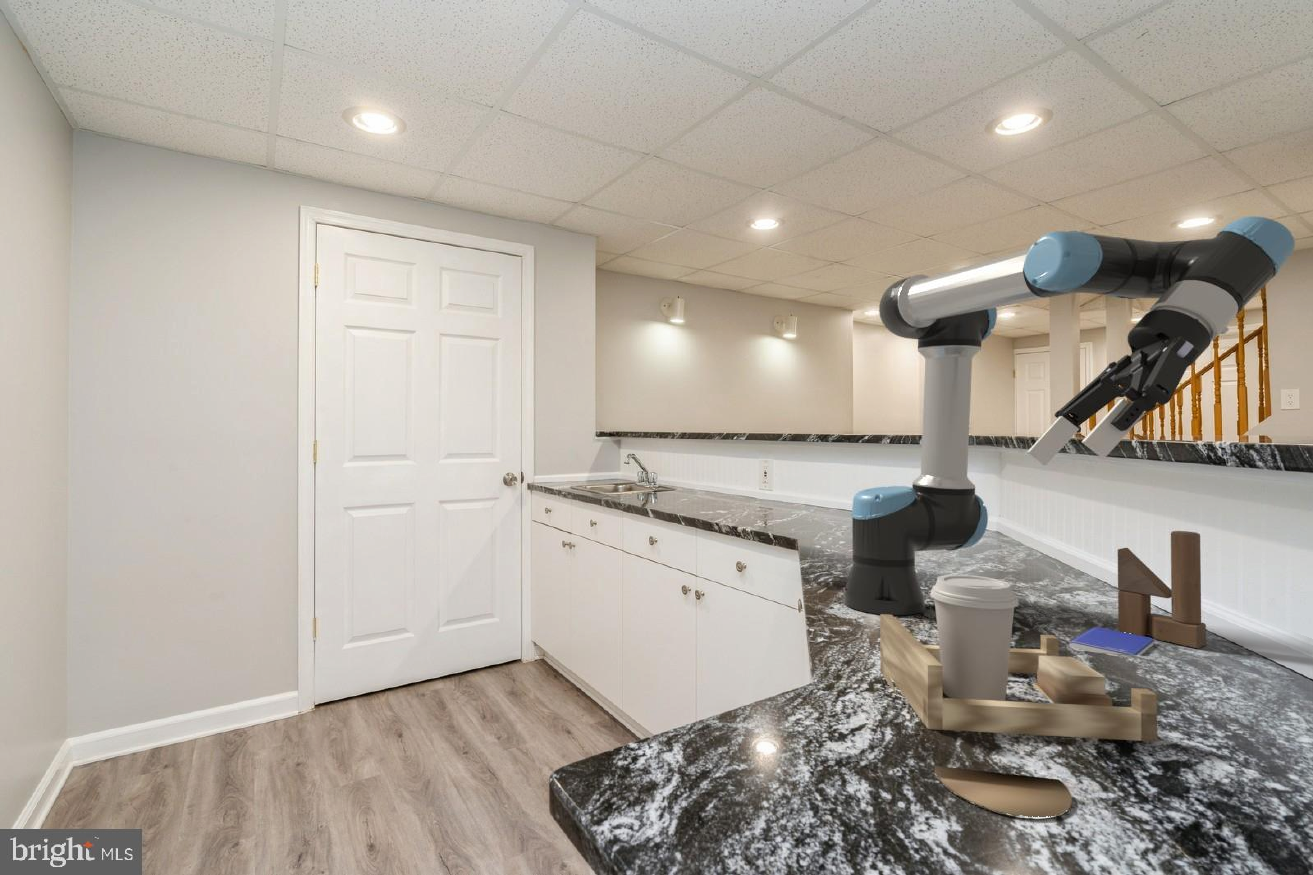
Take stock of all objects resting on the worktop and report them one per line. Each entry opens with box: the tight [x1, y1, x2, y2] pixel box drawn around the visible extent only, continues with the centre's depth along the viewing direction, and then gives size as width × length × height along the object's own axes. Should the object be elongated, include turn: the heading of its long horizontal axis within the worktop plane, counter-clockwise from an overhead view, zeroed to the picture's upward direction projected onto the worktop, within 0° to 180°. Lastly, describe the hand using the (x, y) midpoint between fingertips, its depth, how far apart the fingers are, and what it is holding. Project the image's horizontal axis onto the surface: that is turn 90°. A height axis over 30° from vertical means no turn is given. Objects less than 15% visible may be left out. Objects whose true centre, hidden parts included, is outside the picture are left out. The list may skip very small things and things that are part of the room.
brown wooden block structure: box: [1117, 530, 1207, 649], centre depth 100 cm, size 4×11×18 cm, turn 32°
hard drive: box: [1069, 626, 1155, 656], centre depth 97 cm, size 2×8×12 cm
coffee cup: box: [930, 574, 1020, 701], centre depth 74 cm, size 10×10×15 cm
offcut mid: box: [1036, 669, 1113, 706], centre depth 72 cm, size 5×8×2 cm, turn 165°
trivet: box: [934, 765, 1072, 817], centre depth 56 cm, size 11×11×1 cm
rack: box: [879, 614, 1158, 743], centre depth 73 cm, size 22×20×8 cm
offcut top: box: [1039, 655, 1106, 695], centre depth 73 cm, size 4×6×2 cm, turn 174°
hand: (1062, 454), depth 76 cm, fingers open, 13 cm apart
